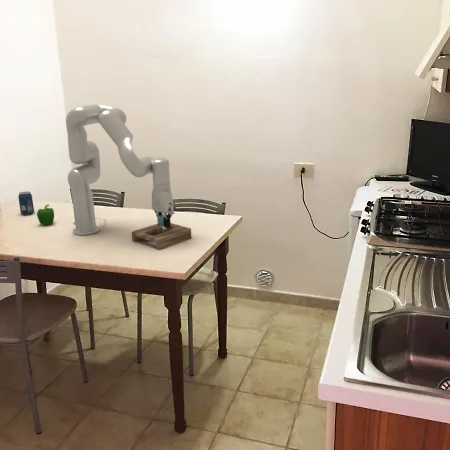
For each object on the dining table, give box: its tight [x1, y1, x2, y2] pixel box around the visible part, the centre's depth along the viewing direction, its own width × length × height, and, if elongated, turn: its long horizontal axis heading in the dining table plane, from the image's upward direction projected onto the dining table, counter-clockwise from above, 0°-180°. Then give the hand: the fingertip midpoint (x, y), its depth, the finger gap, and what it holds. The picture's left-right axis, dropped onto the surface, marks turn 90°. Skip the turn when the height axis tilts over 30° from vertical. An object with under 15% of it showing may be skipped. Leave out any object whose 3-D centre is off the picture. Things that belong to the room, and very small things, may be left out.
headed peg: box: [156, 213, 167, 234], centre depth 230 cm, size 5×5×10 cm
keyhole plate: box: [130, 222, 192, 251], centre depth 230 cm, size 18×20×4 cm
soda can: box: [17, 191, 35, 217], centre depth 274 cm, size 7×7×12 cm
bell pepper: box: [36, 203, 55, 226], centre depth 255 cm, size 8×8×10 cm
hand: (164, 225), depth 230 cm, fingers closed on headed peg, 4 cm apart
